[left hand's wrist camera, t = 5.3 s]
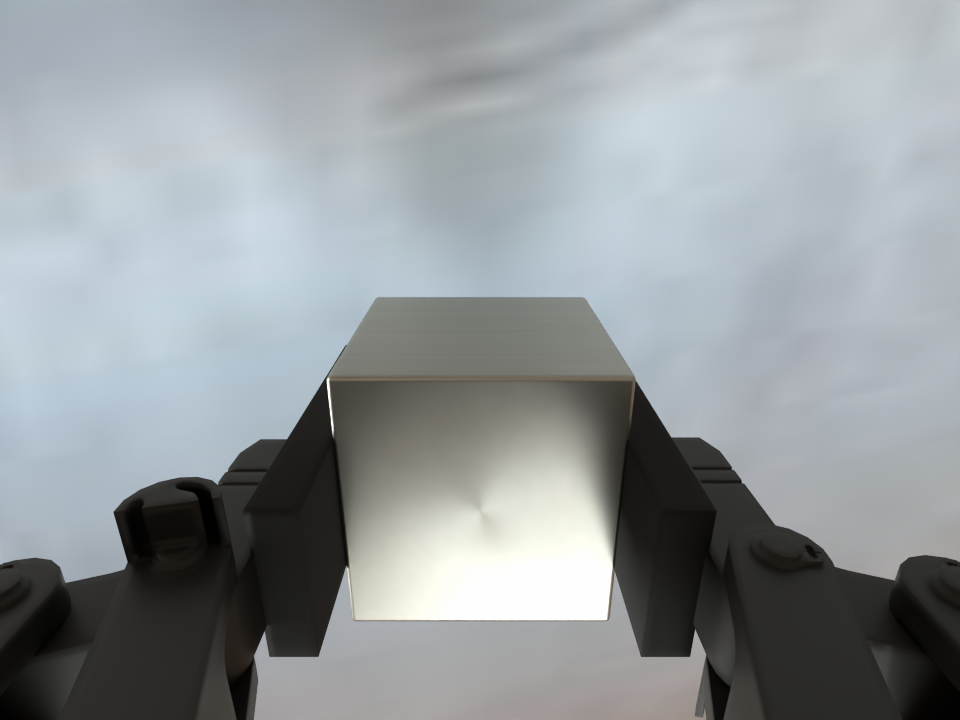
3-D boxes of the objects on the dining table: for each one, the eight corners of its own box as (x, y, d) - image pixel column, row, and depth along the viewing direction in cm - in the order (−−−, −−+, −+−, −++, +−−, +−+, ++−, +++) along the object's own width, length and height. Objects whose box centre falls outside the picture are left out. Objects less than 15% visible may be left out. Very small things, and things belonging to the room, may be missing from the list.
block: (585, 296, 14) (637, 376, 9) (572, 481, 16) (610, 622, 11) (375, 296, 14) (324, 376, 9) (388, 481, 16) (351, 623, 11)
